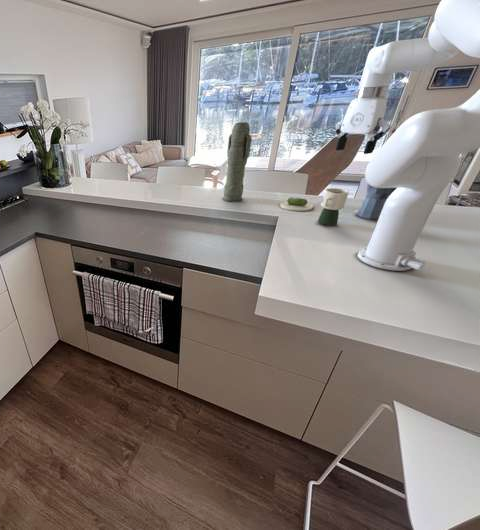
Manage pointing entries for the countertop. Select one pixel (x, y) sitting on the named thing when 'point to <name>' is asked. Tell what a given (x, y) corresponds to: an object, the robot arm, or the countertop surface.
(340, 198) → the character mug
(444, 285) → the countertop surface
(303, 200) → the pickle
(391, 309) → the countertop surface
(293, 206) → the plate
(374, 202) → the moka pot
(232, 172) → the green cactus figure
